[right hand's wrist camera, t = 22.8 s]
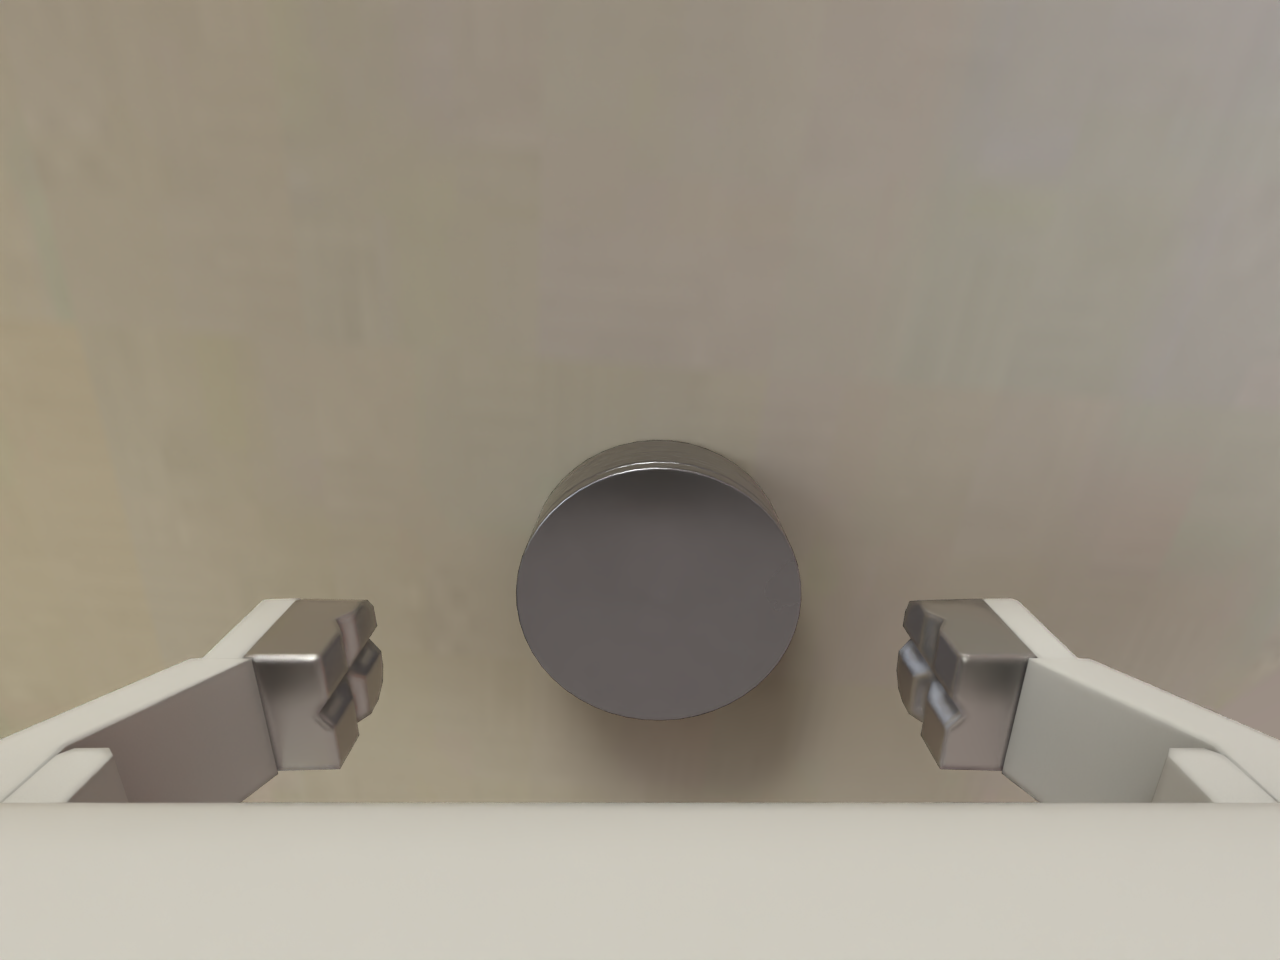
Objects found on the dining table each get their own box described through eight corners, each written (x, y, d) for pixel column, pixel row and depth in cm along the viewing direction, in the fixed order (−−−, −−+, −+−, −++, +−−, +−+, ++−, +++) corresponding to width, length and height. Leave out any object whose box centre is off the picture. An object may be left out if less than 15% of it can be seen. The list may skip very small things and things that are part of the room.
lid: (578, 401, 13) (567, 424, 12) (826, 492, 14) (851, 526, 12) (501, 623, 15) (481, 673, 13) (724, 696, 16) (733, 753, 14)
